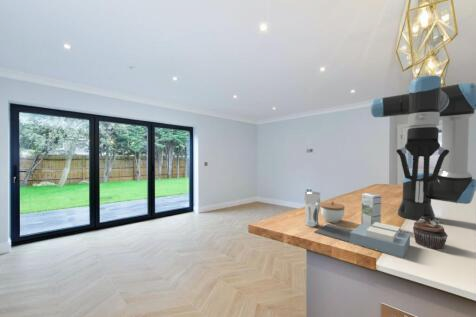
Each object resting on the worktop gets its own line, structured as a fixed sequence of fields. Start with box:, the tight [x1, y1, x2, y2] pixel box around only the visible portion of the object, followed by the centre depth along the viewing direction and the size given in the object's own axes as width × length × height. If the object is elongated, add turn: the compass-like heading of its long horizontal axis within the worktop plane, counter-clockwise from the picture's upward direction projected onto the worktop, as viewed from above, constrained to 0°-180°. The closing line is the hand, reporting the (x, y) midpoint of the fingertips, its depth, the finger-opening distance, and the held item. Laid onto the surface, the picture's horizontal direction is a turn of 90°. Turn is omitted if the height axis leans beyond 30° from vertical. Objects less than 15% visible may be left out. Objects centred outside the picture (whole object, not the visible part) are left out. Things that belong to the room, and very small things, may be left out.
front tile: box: [366, 226, 396, 242], centre depth 77 cm, size 6×8×2 cm
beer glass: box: [304, 190, 322, 228], centre depth 100 cm, size 7×7×15 cm
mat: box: [313, 223, 354, 243], centre depth 91 cm, size 14×14×1 cm
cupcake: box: [412, 216, 448, 250], centre depth 81 cm, size 10×10×10 cm
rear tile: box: [372, 222, 401, 236], centre depth 83 cm, size 6×8×2 cm
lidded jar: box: [320, 201, 346, 224], centre depth 107 cm, size 11×11×9 cm
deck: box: [349, 223, 411, 259], centre depth 81 cm, size 14×16×4 cm
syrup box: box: [360, 192, 382, 226], centre depth 101 cm, size 6×6×14 cm
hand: (419, 201), depth 70 cm, fingers closed
